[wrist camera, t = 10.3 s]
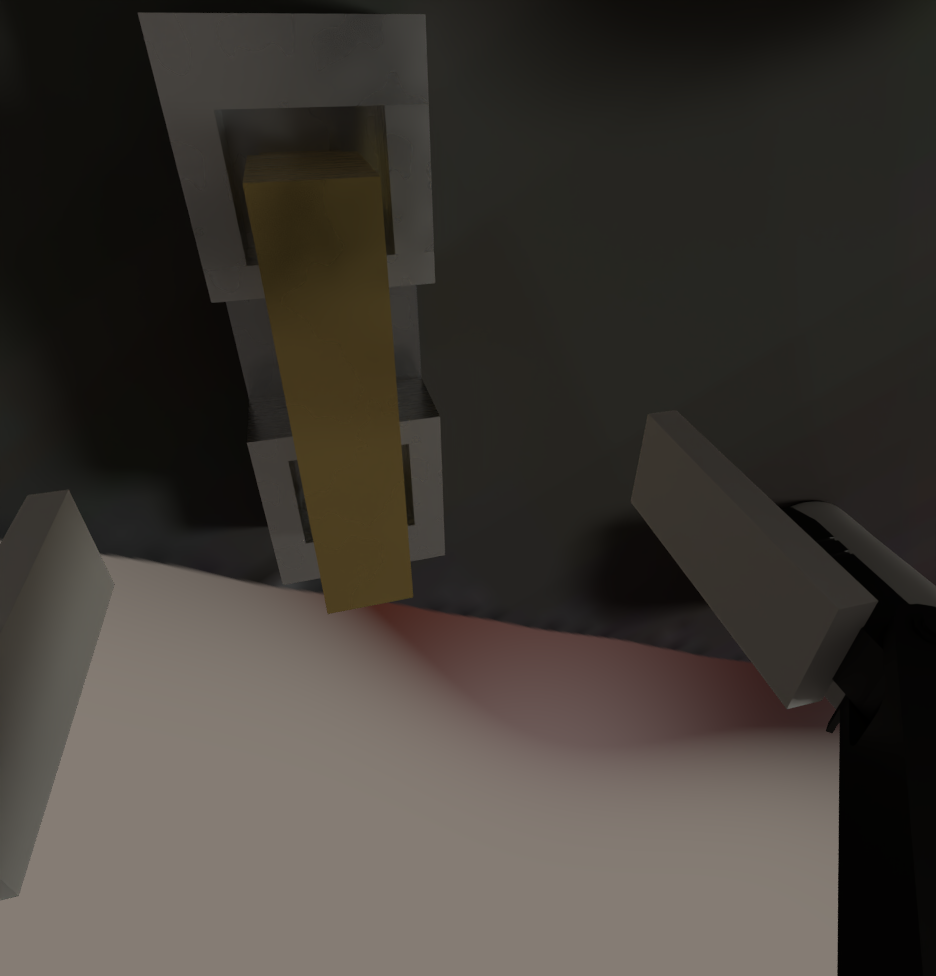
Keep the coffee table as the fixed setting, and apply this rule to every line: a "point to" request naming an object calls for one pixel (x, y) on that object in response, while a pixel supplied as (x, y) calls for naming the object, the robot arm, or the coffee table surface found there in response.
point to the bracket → (226, 225)
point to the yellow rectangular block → (336, 362)
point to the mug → (869, 563)
